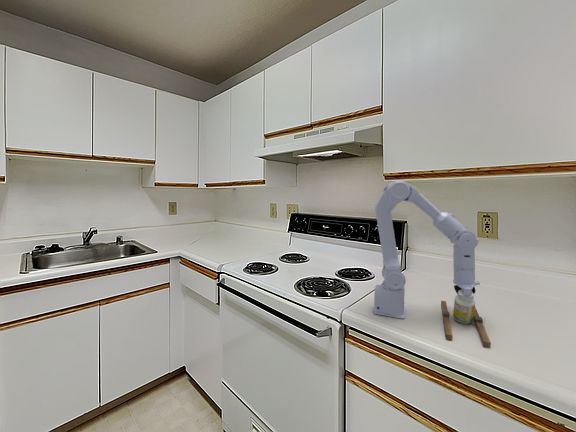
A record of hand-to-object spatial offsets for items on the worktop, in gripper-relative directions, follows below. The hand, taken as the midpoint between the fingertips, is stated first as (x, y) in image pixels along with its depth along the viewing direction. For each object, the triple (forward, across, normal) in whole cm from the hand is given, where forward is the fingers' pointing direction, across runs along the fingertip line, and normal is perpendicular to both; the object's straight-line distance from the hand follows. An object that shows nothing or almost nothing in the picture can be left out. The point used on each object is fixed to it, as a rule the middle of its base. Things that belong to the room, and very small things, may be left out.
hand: (464, 309), depth 88 cm
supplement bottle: (+2, -2, +1) cm, 3 cm away
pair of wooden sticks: (+3, -4, +1) cm, 5 cm away
